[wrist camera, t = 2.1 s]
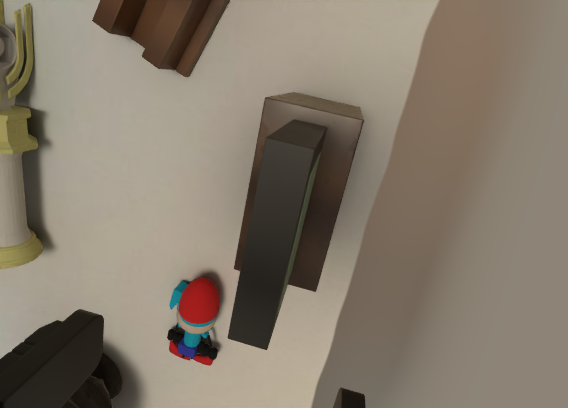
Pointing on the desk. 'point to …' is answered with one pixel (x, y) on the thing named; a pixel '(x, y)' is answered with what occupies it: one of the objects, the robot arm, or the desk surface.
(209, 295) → the toy figure
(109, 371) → the pot
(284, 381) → the desk surface
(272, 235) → the frame
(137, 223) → the desk surface
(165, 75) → the desk surface
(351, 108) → the block
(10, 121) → the trophy
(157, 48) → the holder
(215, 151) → the desk surface
